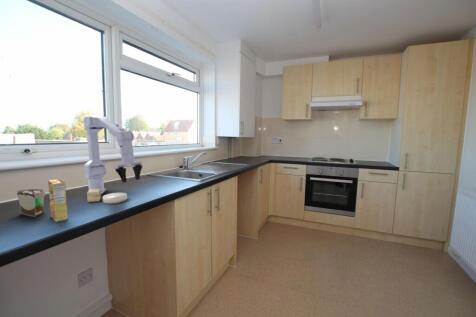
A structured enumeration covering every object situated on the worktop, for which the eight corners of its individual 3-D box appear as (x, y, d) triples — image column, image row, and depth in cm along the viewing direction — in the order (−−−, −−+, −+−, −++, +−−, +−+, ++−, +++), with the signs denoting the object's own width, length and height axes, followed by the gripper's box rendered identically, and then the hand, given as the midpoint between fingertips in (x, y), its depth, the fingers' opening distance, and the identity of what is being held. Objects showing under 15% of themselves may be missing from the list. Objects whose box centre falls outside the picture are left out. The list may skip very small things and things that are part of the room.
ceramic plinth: (104, 198, 119) (104, 193, 118) (127, 196, 123) (127, 191, 122) (101, 204, 109) (100, 199, 108) (126, 202, 113) (126, 197, 112)
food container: (54, 212, 97) (52, 190, 96) (37, 217, 92) (35, 193, 90) (35, 208, 101) (33, 187, 100) (18, 213, 96) (16, 190, 94)
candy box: (50, 216, 93) (47, 180, 91) (63, 213, 96) (60, 178, 94) (55, 222, 87) (52, 183, 85) (68, 219, 90) (65, 182, 88)
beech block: (89, 199, 117) (89, 189, 116) (101, 198, 119) (100, 189, 118) (87, 202, 112) (87, 192, 112) (99, 201, 114) (98, 191, 114)
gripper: (119, 154, 105) (123, 183, 105) (144, 152, 118) (148, 177, 118) (109, 156, 108) (114, 183, 109) (135, 153, 121) (139, 178, 121)
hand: (131, 180), depth 114 cm, fingers open, 7 cm apart
